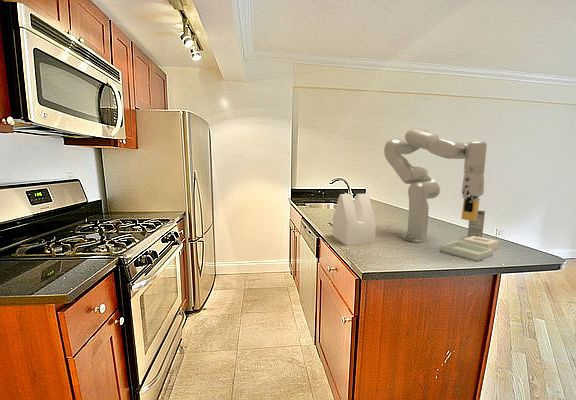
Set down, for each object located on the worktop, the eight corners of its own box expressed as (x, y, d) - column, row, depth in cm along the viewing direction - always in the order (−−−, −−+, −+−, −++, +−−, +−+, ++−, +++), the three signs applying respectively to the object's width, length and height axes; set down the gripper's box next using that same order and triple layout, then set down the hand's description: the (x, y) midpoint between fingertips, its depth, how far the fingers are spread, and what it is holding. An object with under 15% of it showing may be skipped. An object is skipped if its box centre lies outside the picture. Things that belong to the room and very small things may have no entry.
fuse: (473, 221, 121) (476, 198, 119) (461, 218, 125) (464, 197, 123) (476, 220, 122) (479, 198, 121) (464, 218, 126) (467, 196, 125)
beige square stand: (487, 252, 127) (488, 244, 127) (462, 246, 137) (463, 238, 136) (498, 248, 133) (499, 240, 132) (473, 243, 142) (474, 235, 142)
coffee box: (468, 237, 153) (470, 209, 150) (482, 239, 149) (485, 210, 147) (466, 241, 145) (469, 211, 143) (481, 243, 142) (484, 213, 139)
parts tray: (477, 261, 115) (478, 255, 115) (440, 251, 129) (440, 245, 128) (492, 256, 122) (493, 249, 122) (455, 246, 136) (456, 241, 136)
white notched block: (332, 236, 156) (333, 192, 152) (357, 234, 159) (358, 192, 156) (346, 245, 137) (348, 196, 134) (374, 244, 140) (376, 196, 137)
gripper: (474, 170, 113) (470, 214, 115) (492, 170, 121) (488, 210, 124) (455, 170, 119) (451, 211, 122) (473, 169, 128) (470, 208, 130)
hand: (470, 210), depth 123 cm, fingers closed on fuse, 3 cm apart
